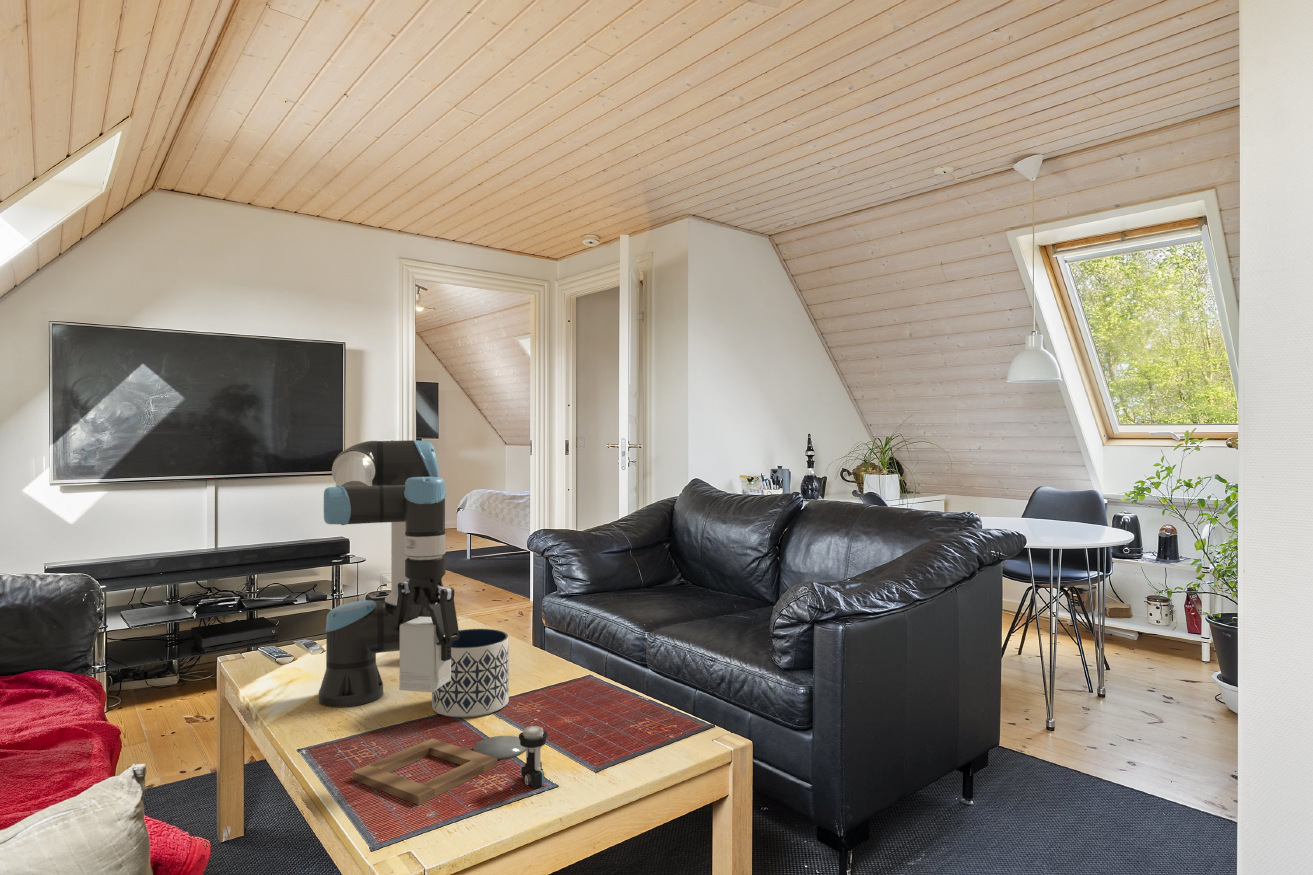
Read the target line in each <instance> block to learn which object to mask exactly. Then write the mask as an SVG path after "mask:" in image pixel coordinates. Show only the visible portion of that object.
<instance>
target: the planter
mask: <svg viewBox="0 0 1313 875" xmlns="http://www.w3.org/2000/svg"><path fill="white" fill-rule="evenodd" d="M459 636H460V638H459V639H458V640H455V641H452V643H451V681H449V682H447V683H446V684H444V685H443V686H441V687H440V688H438V689H437V690H435V691H434V692H431V706H432V710H433V711H435V712H436V713H437V714H438V715H441V716H445V717H449V718H464V719H466V718H474V717H475V718H476V717H481V716H486V715H491V714H493V713H495V712H498V711H499V710H501V709H503V708H504V707H506V706H507V705H508V703H509V700H510V687H509V686H510V668H509V667H510V666H509V664H510V663H509V662H510V658H509V657H510V656H509V653H510V651H509V648H510V647H509V646H510V644H509V635H508V633H507V632H505V631H502V630H498V629H490V628H470V629H469V628H467V629H459Z"/></svg>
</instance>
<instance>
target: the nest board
mask: <svg viewBox="0 0 1313 875" xmlns="http://www.w3.org/2000/svg"><path fill="white" fill-rule="evenodd" d="M428 756H433V757H436V758H439V759H441V760H445V761H447V762H450V763H454V764H457V765H460V766H457V767H455V768H453V769H451V770H449V771H446V772H445V773H442V774H440V775H439V776H436V777H433V778H431V779H430V780H427V781H425V782H423V783H421V782H418V781H417V782H416V781H414V780H411V779H408V778H405V777H404V776H401V775H397V774H396V773H395V774H394V773H392V772H394V771H396V770H399V769H401V768H403V767H406V766H407V765H410V764H412V763H415V762H417V761H419V760H422V759H424V758H426V757H428ZM497 766H498V760H497V758H494V757H491V756H488V755H484V754H481V753H478V752H475V751H474V750H471V749H469V748H465V747H462V746H459V745H455V744H453V743H452V744H451V743H449V742H445V741H442V740H439V739H436V738H430V739H427V740H425V741H422V742H420V743H417V744H415V745H413V746H412V745H411V746H410V747H408V748H405V749H403V750H401V751H398V752H396V753H393V754H391V755H389V756H386V757H383V758H381V759H380V760H376V761H374V762H371V763H369V764H367V765H365V766H362V767H360V768H357V769H354V770H352V780H354V781H356V782H359V783H361V784H364V785H366V786H369V787H371V788H374V789H377V790H380V791H382V792H385V793H387V794H389V795H391V796H394V797H397V798H398V799H399V798H400V799H402V800H405V801H408V802H410V803H412V804H415V805H418V806H420V805H421V804H424V803H427V802H428V801H430V800H432V799H434V798H436V797H438V796H440V795H442V794H444V793H446V792H448V791H450V790H452V789H454V788H456V787H459V786H460V785H463V784H464V783H466V782H468V781H470V780H472V779H474V778H476V777H478V776H480V775H482V774H485V773H486V772H488V771H490V770H491V769H495V767H497Z"/></svg>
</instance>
